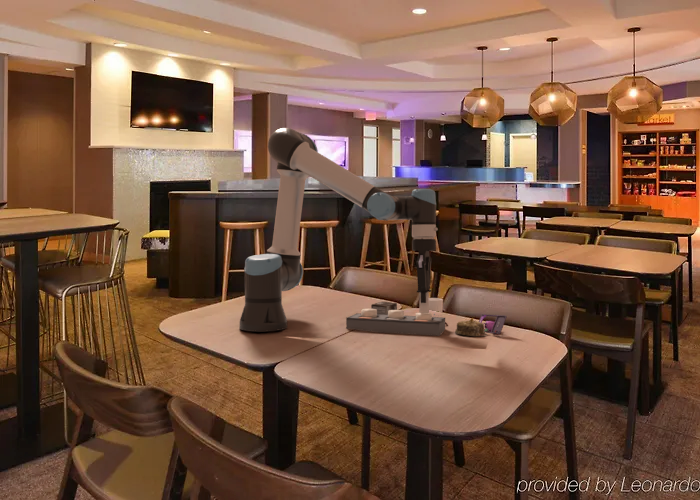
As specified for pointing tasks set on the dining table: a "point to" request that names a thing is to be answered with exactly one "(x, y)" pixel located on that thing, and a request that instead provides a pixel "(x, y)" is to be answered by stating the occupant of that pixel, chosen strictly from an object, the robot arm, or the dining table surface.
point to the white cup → (435, 304)
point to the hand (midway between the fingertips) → (424, 312)
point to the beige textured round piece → (470, 328)
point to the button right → (424, 316)
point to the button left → (369, 313)
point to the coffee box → (384, 307)
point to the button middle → (396, 314)
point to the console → (396, 324)
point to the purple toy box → (494, 323)
